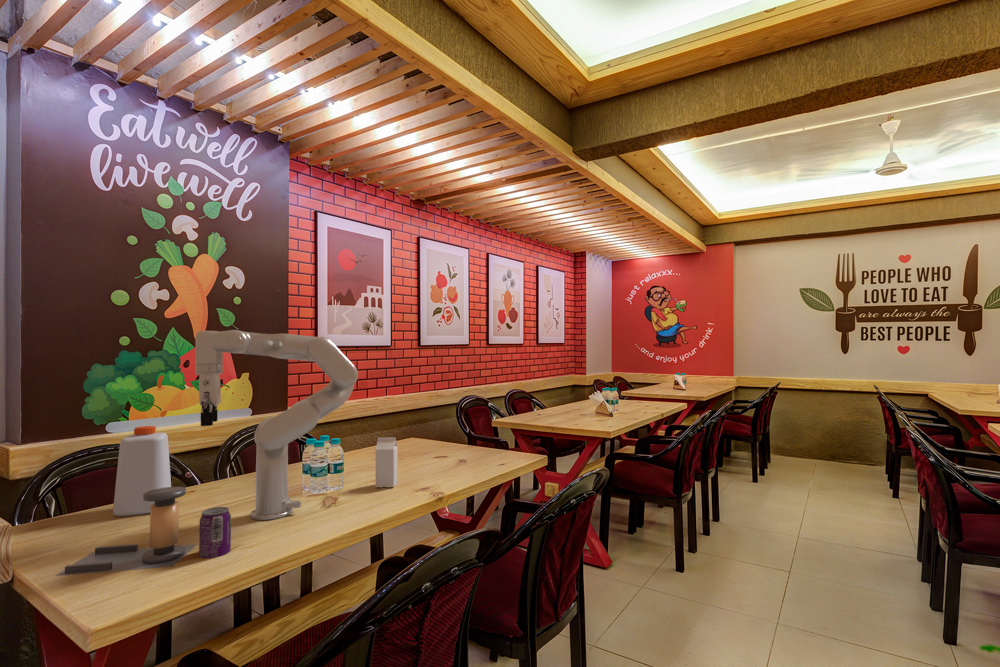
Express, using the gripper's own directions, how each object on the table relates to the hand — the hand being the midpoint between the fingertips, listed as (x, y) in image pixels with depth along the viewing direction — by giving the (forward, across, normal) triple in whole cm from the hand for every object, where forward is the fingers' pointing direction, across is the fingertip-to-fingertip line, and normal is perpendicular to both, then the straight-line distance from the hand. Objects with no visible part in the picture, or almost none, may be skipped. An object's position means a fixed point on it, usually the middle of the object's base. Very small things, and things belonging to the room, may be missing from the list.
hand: (209, 423), depth 157 cm
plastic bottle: (+31, +24, +23) cm, 45 cm away
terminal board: (+31, -28, +13) cm, 44 cm away
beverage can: (+31, -32, -6) cm, 45 cm away
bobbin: (+29, -30, +6) cm, 42 cm away
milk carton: (+32, +19, -58) cm, 69 cm away
